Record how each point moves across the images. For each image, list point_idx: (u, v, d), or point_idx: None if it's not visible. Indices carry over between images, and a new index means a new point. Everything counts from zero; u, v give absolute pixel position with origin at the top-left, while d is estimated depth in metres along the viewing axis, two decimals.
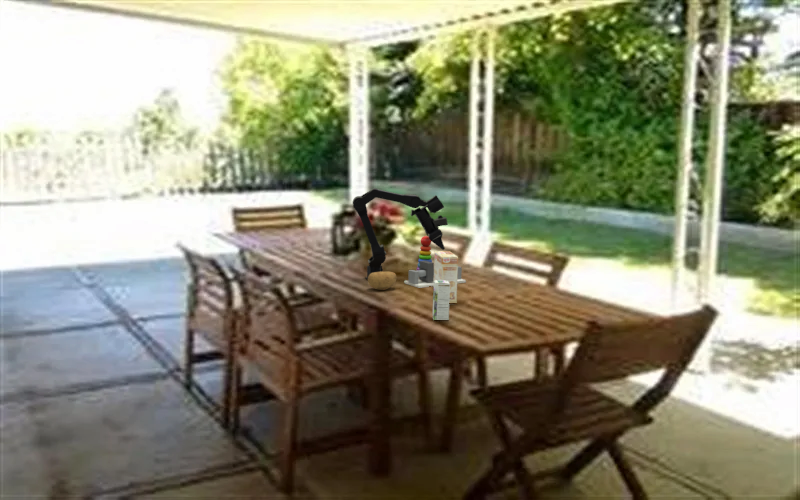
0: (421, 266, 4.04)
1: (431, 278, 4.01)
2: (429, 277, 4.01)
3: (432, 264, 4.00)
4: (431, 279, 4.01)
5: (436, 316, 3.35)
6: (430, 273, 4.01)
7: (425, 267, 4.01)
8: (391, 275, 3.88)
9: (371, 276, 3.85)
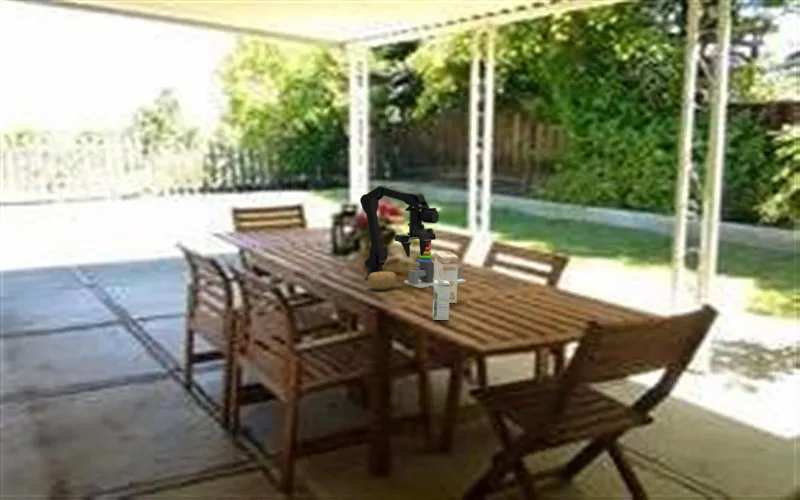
0: (421, 266, 4.04)
1: (431, 278, 4.01)
2: (429, 277, 4.01)
3: (432, 264, 4.00)
4: (431, 279, 4.01)
5: (436, 316, 3.35)
6: (430, 273, 4.01)
7: (425, 267, 4.01)
8: (391, 275, 3.88)
9: (371, 276, 3.85)
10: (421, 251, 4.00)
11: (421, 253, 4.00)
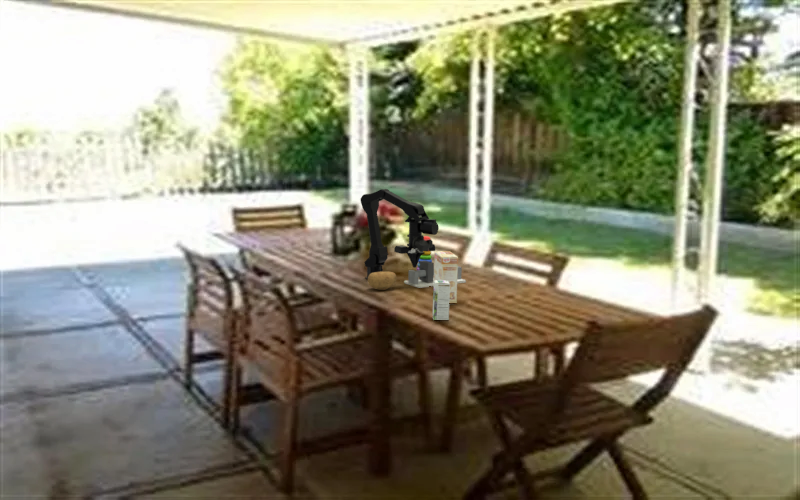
0: (421, 266, 4.04)
1: (431, 278, 4.01)
2: (429, 277, 4.01)
3: (432, 264, 4.00)
4: (431, 279, 4.01)
5: (436, 316, 3.35)
6: (430, 273, 4.01)
7: (425, 267, 4.01)
8: (391, 275, 3.88)
9: (371, 276, 3.85)
10: None
11: None
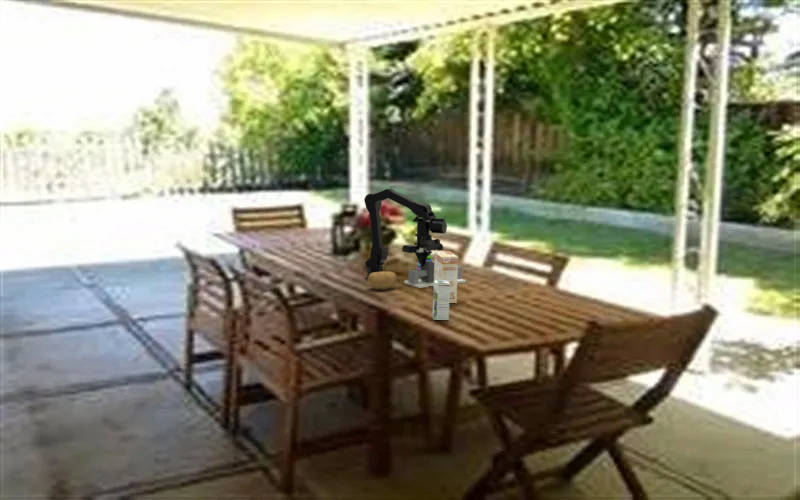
0: None
1: (432, 278, 4.01)
2: (430, 277, 4.01)
3: (433, 264, 4.01)
4: (432, 279, 4.02)
5: (436, 316, 3.35)
6: (431, 273, 4.01)
7: (426, 267, 4.01)
8: (391, 275, 3.88)
9: (371, 276, 3.85)
10: None
11: None
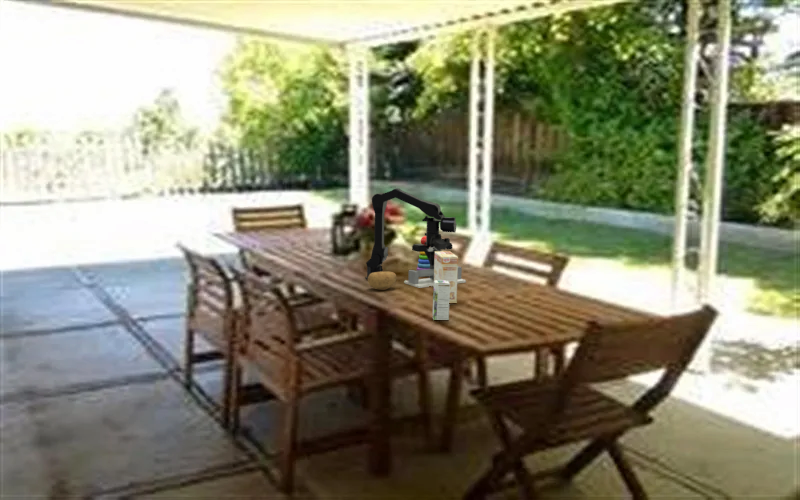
0: None
1: None
2: None
3: None
4: None
5: (436, 316, 3.35)
6: None
7: None
8: (391, 275, 3.88)
9: (371, 276, 3.85)
10: None
11: None
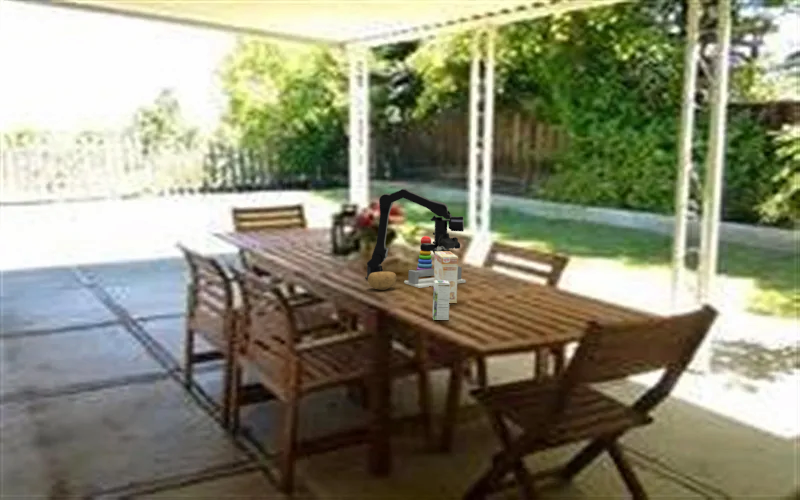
0: None
1: None
2: None
3: None
4: None
5: (436, 316, 3.35)
6: None
7: None
8: (391, 275, 3.88)
9: (371, 276, 3.85)
10: None
11: None
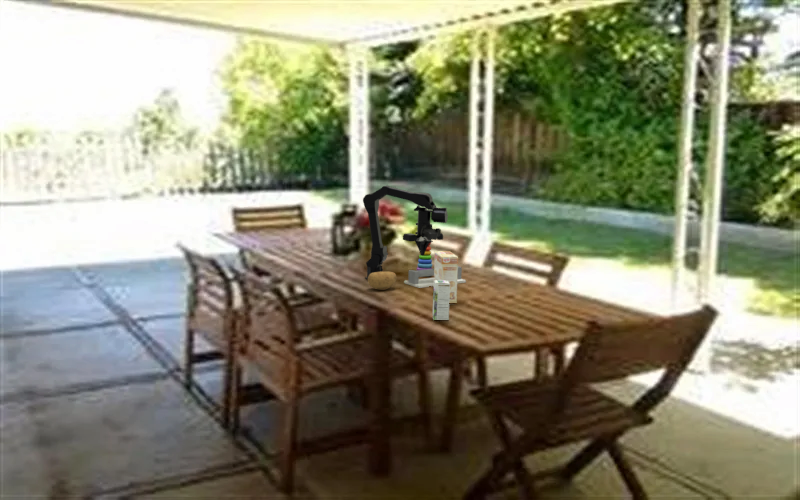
0: None
1: None
2: None
3: None
4: None
5: (436, 316, 3.35)
6: None
7: None
8: (391, 275, 3.88)
9: (371, 276, 3.85)
10: None
11: None
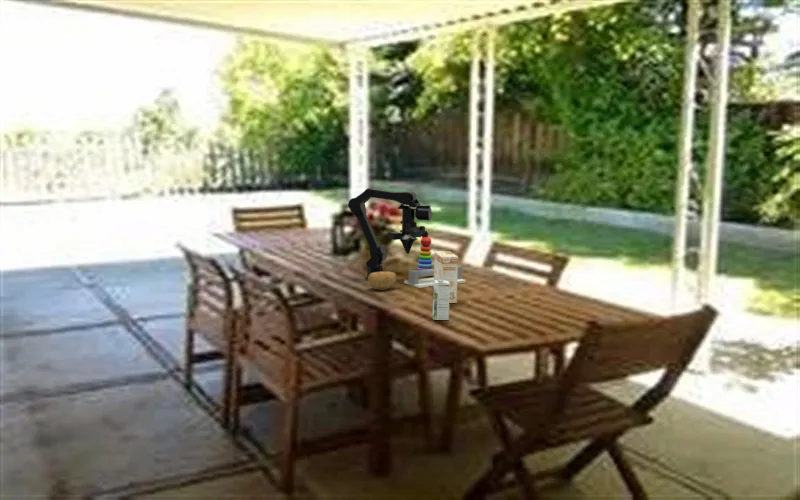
0: None
1: None
2: None
3: None
4: None
5: (436, 316, 3.35)
6: None
7: None
8: (391, 275, 3.88)
9: (371, 276, 3.85)
10: None
11: None
